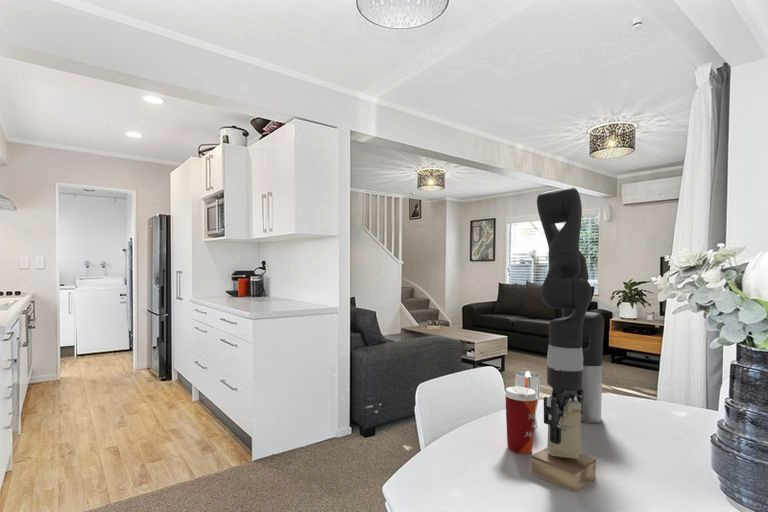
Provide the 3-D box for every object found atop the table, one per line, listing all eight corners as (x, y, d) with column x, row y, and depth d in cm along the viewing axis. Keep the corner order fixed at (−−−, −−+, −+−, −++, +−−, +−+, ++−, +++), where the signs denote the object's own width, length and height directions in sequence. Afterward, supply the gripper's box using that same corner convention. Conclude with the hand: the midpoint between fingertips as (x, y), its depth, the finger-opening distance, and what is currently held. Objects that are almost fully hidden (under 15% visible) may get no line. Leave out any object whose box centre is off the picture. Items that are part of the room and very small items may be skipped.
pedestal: (553, 460, 103) (553, 444, 103) (595, 477, 95) (595, 459, 95) (530, 473, 97) (531, 455, 97) (574, 491, 89) (574, 472, 89)
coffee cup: (538, 457, 104) (540, 396, 105) (504, 453, 106) (505, 393, 106) (534, 443, 113) (535, 387, 113) (501, 440, 114) (503, 384, 115)
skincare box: (551, 456, 94) (552, 401, 95) (546, 448, 99) (547, 395, 99) (581, 459, 93) (581, 403, 94) (575, 450, 98) (576, 397, 98)
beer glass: (510, 424, 126) (511, 373, 126) (520, 418, 131) (521, 369, 131) (532, 431, 121) (533, 378, 122) (542, 424, 126) (543, 374, 127)
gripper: (564, 358, 104) (563, 426, 104) (532, 366, 95) (531, 441, 94) (595, 364, 98) (594, 436, 98) (565, 373, 89) (564, 453, 89)
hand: (563, 438), depth 96 cm, fingers closed on skincare box, 7 cm apart
